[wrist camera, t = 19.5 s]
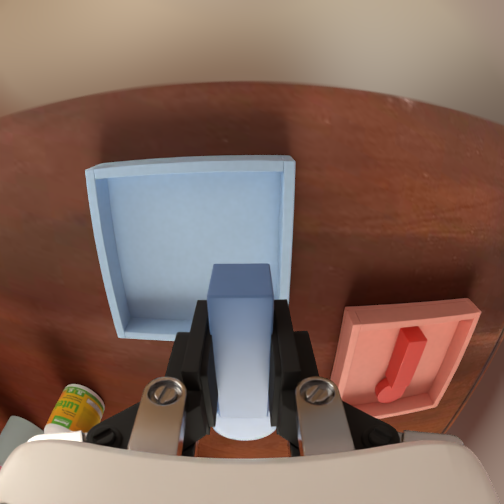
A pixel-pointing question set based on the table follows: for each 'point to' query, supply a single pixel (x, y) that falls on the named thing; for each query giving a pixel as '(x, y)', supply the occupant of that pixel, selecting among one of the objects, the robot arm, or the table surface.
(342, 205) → the table surface
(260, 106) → the table surface
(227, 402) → the blue spoon
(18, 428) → the mug
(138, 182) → the blue tray
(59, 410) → the supplement bottle
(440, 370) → the red tray
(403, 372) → the red spoon
